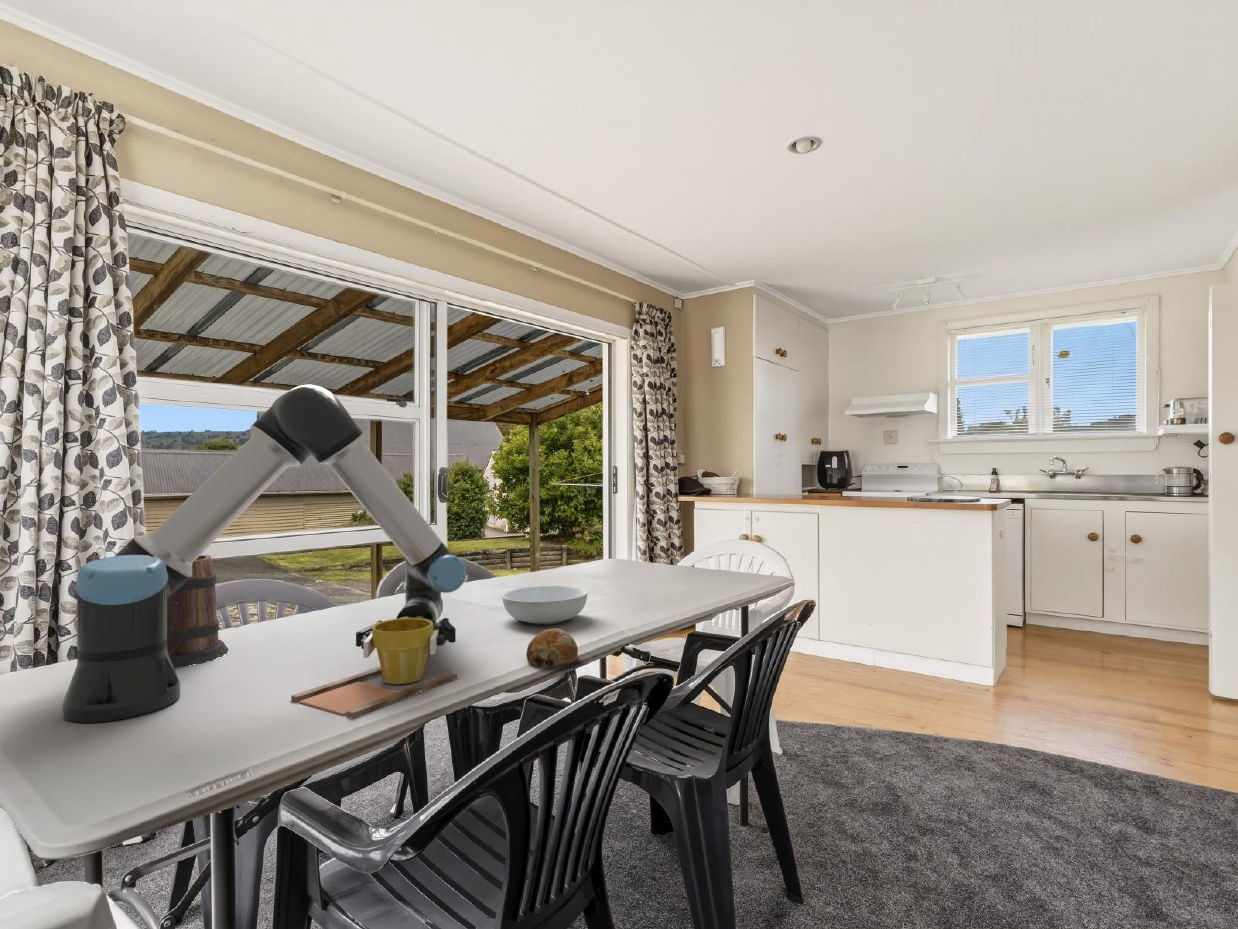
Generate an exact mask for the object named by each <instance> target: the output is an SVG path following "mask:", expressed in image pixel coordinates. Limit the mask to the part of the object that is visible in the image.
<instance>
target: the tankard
mask: <svg viewBox="0 0 1238 929" xmlns="http://www.w3.org/2000/svg"><path fill="white" fill-rule="evenodd" d="M216 584H217V575H216V573H215V571H214V566H213V562H212V556H211V555H207V554H205V555H202V554H201V555H200V556H199V557H198V558H197V559H196V560H195V561H194V562H193V563H192V576H191V577H190V578H189V579H188V580H187V581H186V582H185V583H184V584H183V585H182V586H181V588H180V589H179V590H178V591H177V592H176V593H175V594H174V595H173V596H172V597H171V598H170V599H169V600H168V601H167V652H168V655H169V657H170V660H171V662H172V664H173V667H174V669H179V668H178V667H180V668H187V667H190V666H189V665H193V664H198V665H201V664H206V663H208V662H207V661H210V662H214V661H215V660H214V659H216V658H218V657H222V656H223V655H224V654H227V652H228V650H229V649H230V648H229V647H227V645H226V644H225V641H224V640H223V641H222V640H221V639H219V630H220V620H219V619H218V616H217V615H218V613H217V611H218V610H217V594H216V593H217V592H216ZM228 648H229V649H228ZM227 655H228V654H227ZM222 658H223V657H222ZM213 660H214V661H213ZM205 662H206V663H205ZM186 666H187V667H186ZM193 666H194V665H193ZM176 667H177V668H176Z"/></svg>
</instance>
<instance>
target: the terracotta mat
mask: <svg viewBox="0 0 1238 929" xmlns="http://www.w3.org/2000/svg"><path fill="white" fill-rule="evenodd" d="M397 692H398V690H397V691H396V690H394V689H393V690H392V689H389V688H384V687H379V686H375V685H371V684H367V683H364V682H360V681H359V682H355V683H352V684H349V685H346V686H343V687H340V688H337V689H334V690H331V691H328V692H325V693H322V694H319V695H316V696H313V697H310V698H307V699H304V700H301V701H299V703H300V704H303V705H306V706H309V707H313V708H316V709H320V710H324V711H327V712H330V713H333V714H337V715H340V716H347V711H348V710H351V709H354V708H356V707H359V706H362V705H365V704H367V703H370V702H373V701H375V700H378V699H381V698H384V697H386V696H389V695H392V694H394V693H397Z"/></svg>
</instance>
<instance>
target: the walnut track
mask: <svg viewBox="0 0 1238 929" xmlns="http://www.w3.org/2000/svg"><path fill="white" fill-rule="evenodd" d="M379 674H380V675H383V674H382V669H381V666H379V667H376V668H373V669H370V670H367V671H363V672H359V673H357V674H354V675H351V676H348V677H345V678H341V679H339V680H338V679H337V680H335V681H331V682H329V683H326V684H323V685H320V686H316V687H313V688H311V689H307V690H305V691H301V692H297V693H295V694H292V695H290V700H291V701H292V702H295V703H296V702H300V701H301V700H304V699H307V698H310V697H313V696H316V695H319V694H322V693H325V692H328V691H331V690H334V689H337V688H340V687H343V686H346V685H349V684H352V683H355V682H360V681H365V680H367V679H370V678H373V677H377V676H379ZM455 678H457V679H458V678H459V677H458V673H457V672H449V673H446V674H443V675H441V676H438V677H436V678H435V677H434V678H432V679H430V680H427V681H425V682H422V683H419V684H415V685H414V686H411V687H409V688H405V689H402V690H400V691H397V693H394V694H392V695H389V696H386V697H384V698H381V699H378V700H375V701H373V702H370V703H367V704H365V705H362V706H359V707H356V708H354V709H351V710H348V711H347V714H346V717H348V718H351V719H354V718H357V717H360V716H362V715H365V714H368V713H370V712H373V711H376V710H377V709H378V710H379V709H380V708H383V707H386V706H390V705H392V704H393V703H396V702H398V701H401V699H402V700H404V699H406V698H409V697H408V696H410V697H412V696H414V694H415V695H417V694H416V693H418V694H419V692H420V691H423V692H425V691H427V690H426V689H428V690H430V689H429V688H431V689H433V688H435V686H436V687H437V685H438V686H440V685H439V684H441V685H444V684H446V683H448V682H447V681H449V682H451V681H453V679H454V680H456V679H455ZM445 682H446V683H445ZM443 683H444V684H443ZM424 690H425V691H424ZM420 693H421V692H420ZM411 695H412V696H411ZM403 698H404V699H403Z"/></svg>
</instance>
